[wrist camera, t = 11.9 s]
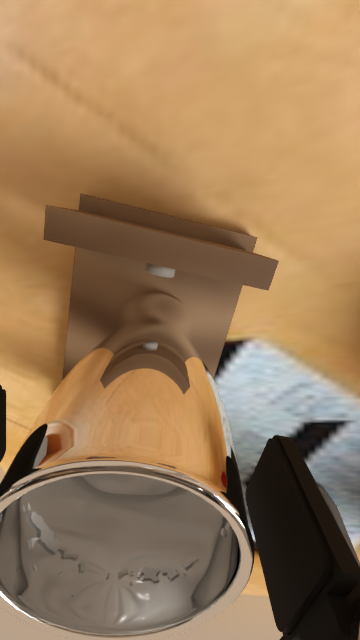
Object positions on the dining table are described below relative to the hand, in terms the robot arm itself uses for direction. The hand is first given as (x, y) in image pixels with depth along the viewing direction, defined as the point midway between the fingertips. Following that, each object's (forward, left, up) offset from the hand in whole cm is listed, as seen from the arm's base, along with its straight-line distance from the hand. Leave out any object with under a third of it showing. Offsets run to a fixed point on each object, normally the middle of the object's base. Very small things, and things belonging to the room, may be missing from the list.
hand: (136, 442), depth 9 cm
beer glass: (0, 0, -12) cm, 12 cm away
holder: (+1, 0, -13) cm, 13 cm away
